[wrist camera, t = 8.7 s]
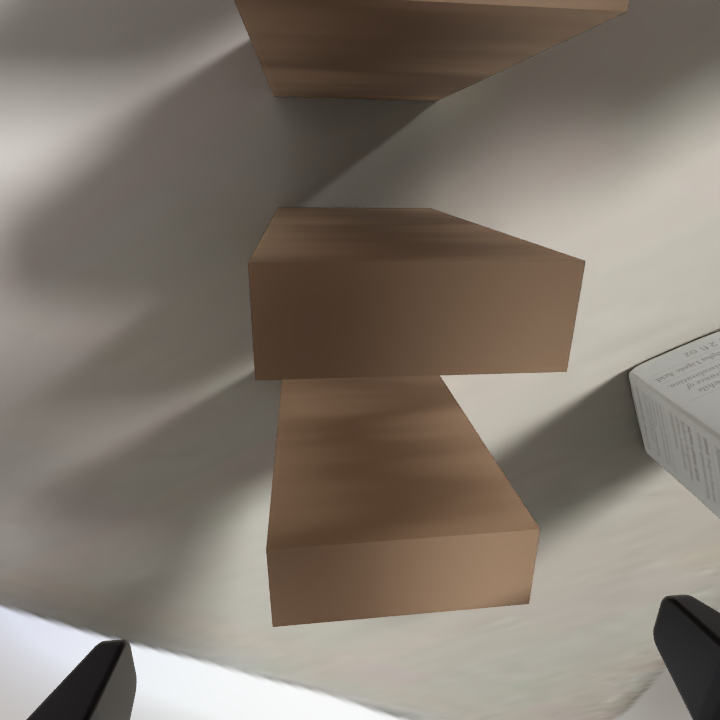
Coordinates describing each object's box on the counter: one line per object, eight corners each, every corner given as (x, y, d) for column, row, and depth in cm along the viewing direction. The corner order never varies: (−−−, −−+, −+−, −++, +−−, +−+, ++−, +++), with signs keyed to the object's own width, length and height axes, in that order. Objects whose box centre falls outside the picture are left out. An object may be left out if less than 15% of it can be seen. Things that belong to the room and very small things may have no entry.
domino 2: (430, 208, 17) (585, 261, 8) (427, 262, 18) (566, 372, 8) (278, 207, 17) (248, 261, 7) (280, 263, 17) (255, 380, 8)
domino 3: (422, 348, 19) (539, 529, 9) (420, 393, 19) (528, 603, 10) (284, 354, 18) (265, 550, 9) (287, 399, 19) (272, 626, 10)
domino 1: (441, 33, 15) (658, -172, 6) (437, 101, 16) (627, 11, 7) (270, 26, 15) (217, -210, 5) (273, 96, 15) (230, -8, 6)
